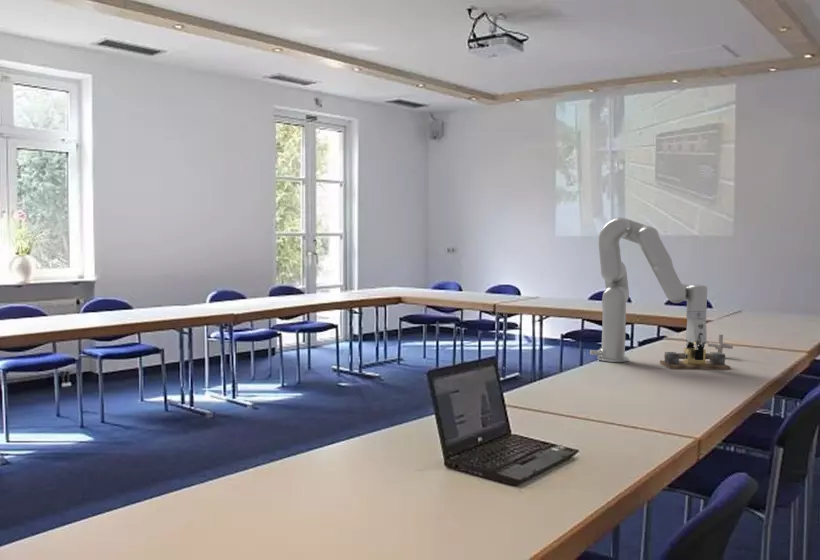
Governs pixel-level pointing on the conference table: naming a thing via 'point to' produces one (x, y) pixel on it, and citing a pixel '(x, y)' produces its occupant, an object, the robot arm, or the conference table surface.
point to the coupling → (693, 356)
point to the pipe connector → (720, 344)
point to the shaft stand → (673, 363)
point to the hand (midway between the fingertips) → (694, 357)
